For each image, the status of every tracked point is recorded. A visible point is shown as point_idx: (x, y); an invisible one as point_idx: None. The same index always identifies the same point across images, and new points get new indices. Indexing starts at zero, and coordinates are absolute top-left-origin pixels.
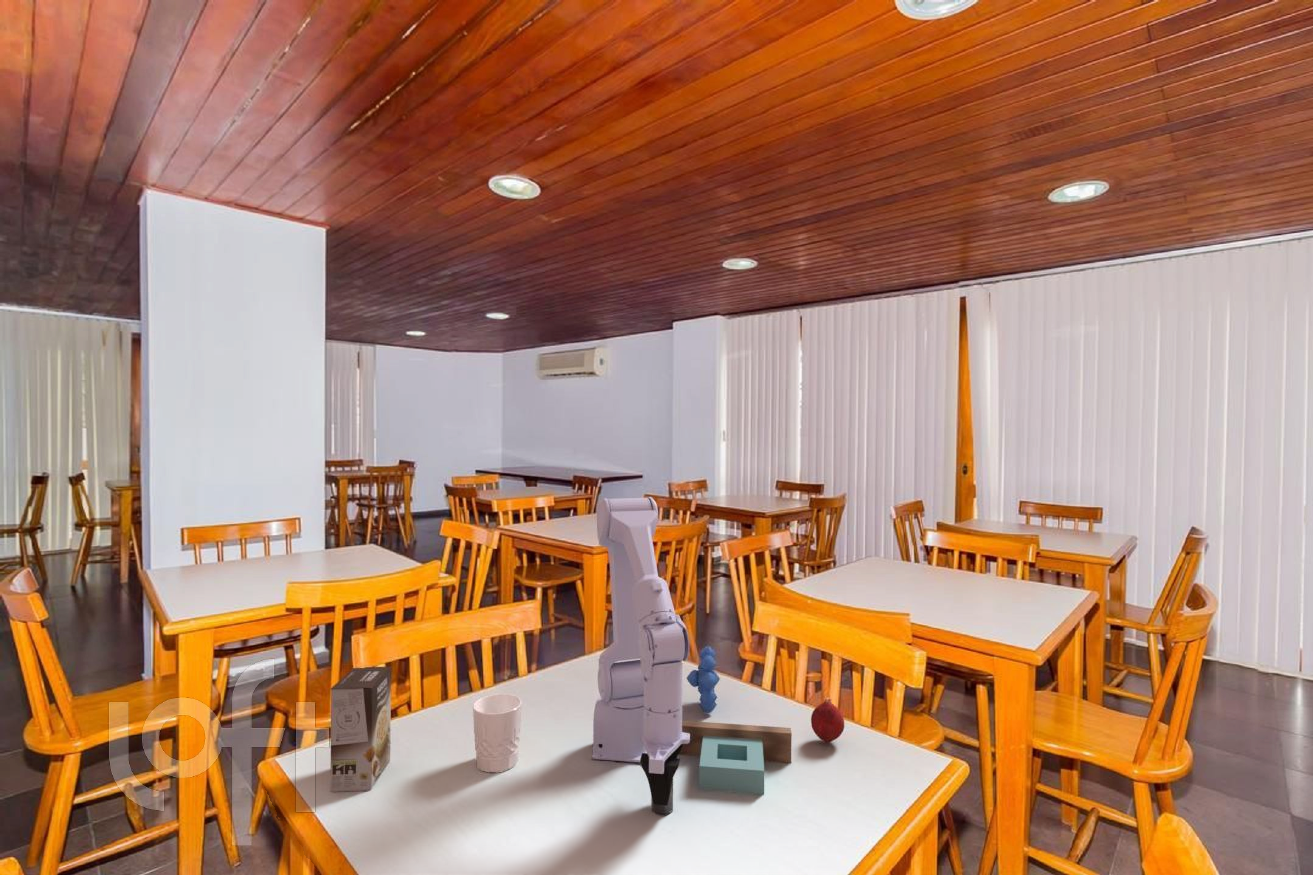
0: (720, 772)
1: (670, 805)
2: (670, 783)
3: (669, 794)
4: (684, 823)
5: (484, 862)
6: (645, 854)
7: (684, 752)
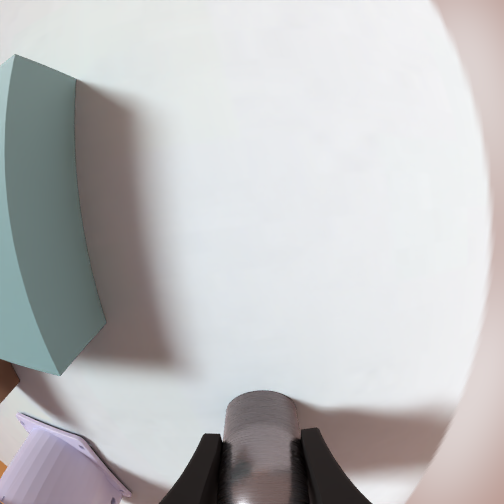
0: (39, 269)
1: (281, 411)
2: (360, 493)
3: (331, 455)
4: (330, 346)
5: (407, 497)
6: (444, 386)
7: (4, 361)
